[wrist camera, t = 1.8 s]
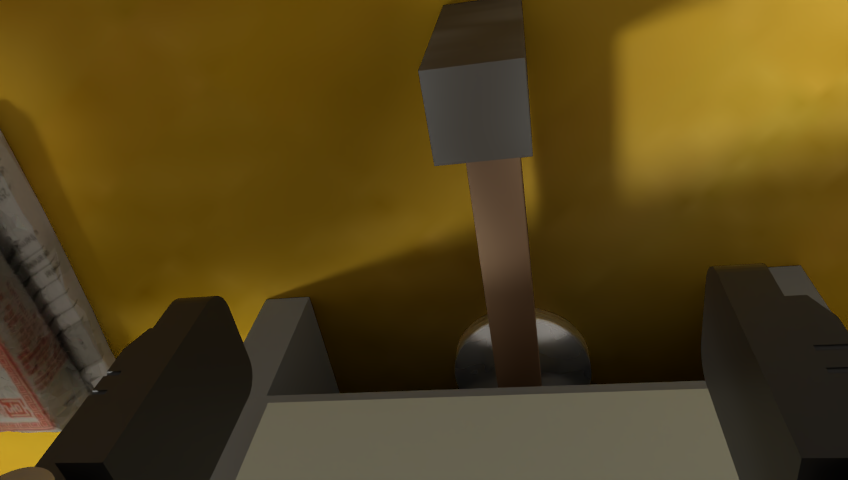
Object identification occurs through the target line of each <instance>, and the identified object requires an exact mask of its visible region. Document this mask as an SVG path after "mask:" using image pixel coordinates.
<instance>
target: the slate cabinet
mask: <svg viewBox="0 0 848 480" xmlns="http://www.w3.org/2000/svg"><path fill="white" fill-rule="evenodd" d="M768 269H769V270H770V272H771V274H772V275H773V277H774V279H775V281H776V282H777V284H778V286H779V287H780V289H781V291H782V293H783V294H784V296H793V295H808V296H809V297H811V298H812V299H814V300H815V301H816V302H818V303H819V304H821V305H822V306H823V307H825V308H826V309H828V310H829V311H830V309H829V308H828V306H827V305H826V303H825V302H824V300H823V299H822V297H821V296H820V294H819V293H818V291H817V290H816V288H815V287H814V285H813V284H812V282H811V281H810V279H809V278H808V276H807V275H806V273H805V272H804V270H803V269H802V267H801V266H784V267H769V268H768ZM830 312H831V311H830ZM243 344H244V346H245V349H246V351H247V354H248V356H249V359H250V362H251V366H252V375H253V377H252V387H251V392H250V395H249V397H248V400H247V402H246V404H245V406H244V408H243V410H242V412H241V414H240V417H239V419H238V421H237V423H236V425H235V427H234V429H233V431H232V434H231V436H230V438H229V440H228V442H227V444H226V446H225V448H224V450H223V453H222V455H221V457H220V459H219V461H218V463H217V465H216V467H215V470H214V472H213V474H212V476H211V478H210V480H739V478H738V475H737V472H736V469H735V466H734V463H733V460H732V457H731V454H730V451H729V449H728V446H727V443H726V440H725V437H724V434H723V431H722V428H721V425H720V422H719V420H718V417H717V414H716V411H715V408H714V405H713V402H712V399H711V396H710V393H709V391H708V388H707V385H706V381H680V382H652V383H623V384H594V385H565V386H536V387H507V388H479V389H450V390H421V391H392V392H363V393H340V392H339V389H338V386H337V382H336V379H335V376H334V373H333V370H332V367H331V364H330V361H329V357H328V354H327V351H326V348H325V345H324V342H323V339H322V335H321V332H320V329H319V326H318V323H317V320H316V317H315V314H314V310H313V307H312V304H311V301H310V298H309V297H299V298H283V299H268V300H266V301H265V303H264V305H263V307H262V309H261V310H260V312H259V314H258V316H257V318H256V320H255V322H254V324H253V326H252V328H251V330H250V332H249V334H248V335H247V337H246V339H245V341H244V343H243Z"/></svg>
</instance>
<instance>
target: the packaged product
mask: <svg viewBox="0 0 848 480" xmlns="http://www.w3.org/2000/svg"><path fill="white" fill-rule="evenodd" d="M115 360H116V359H115V357H114V355H113V353H112V352H111V350H110V348H109V346H108V343H107V341H106V339H105V337H104V334H103V332H102V330H101V328H100V325H99V323H98V321H97V319H96V316H95V314H94V312H93V310H92V308H91V305H90V304H89V302H88V300H87V298H86V296H85V294H84V292H83V290H82V288H81V285H80V283H79V281H78V279H77V277H76V275H75V273H74V271H73V269H72V267H71V265H70V262H69V260H68V258H67V256H66V254H65V252H64V250H63V248H62V246H61V244H60V242H59V240H58V238H57V236H56V234H55V232H54V230H53V228H52V226H51V224H50V222H49V220H48V218H47V216H46V214H45V212H44V210H43V208H42V206H41V205H40V203H39V201H38V199H37V197H36V195H35V193H34V191H33V190H32V188H31V186H30V184H29V182H28V180H27V178H26V176H25V175H24V173H23V171H22V169H21V167H20V165H19V163H18V162H17V160H16V158H15V156H14V154H13V152H12V150H11V148H10V147H9V145H8V143H7V141H6V139H5V137H4V135H3V133H2V132H1V130H0V432H4V431H13V432H16V431H18V432H22V433H23V432H28V433H30V432H59V431H62V430H63V429H64V427H65V426H66V425H67V423H68V422H69V421H70V419H71V418H72V417H73V415H74V414H75V413H76V411H77V410H78V409H79V407H80V406H81V405H82V404H83V402H84V401H85V400H86V398H87V397H88V396H89V395H92V394H93V391H92V390H93V389H94V388H95V386H96V385H97V384H98V382H99V381H100V380H101V378H102V377H103V376H107V371H108V369H109V368H110V367H111V365H112V364H113V363H114V361H115Z"/></svg>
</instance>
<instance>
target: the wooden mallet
mask: <svg viewBox="0 0 848 480" xmlns="http://www.w3.org/2000/svg"><path fill="white" fill-rule="evenodd" d="M418 73H419V78H420V84H421V90H422V96H423V102H424V108H425V114H426V119H427V125H428V131H429V137H430V143H431V149H432V155H433V160H434V166H440V165H450V164H460V163H466V166H467V173H468V180H469V187H470V194H471V201H472V208H473V216H474V223H475V230H476V237H477V244H478V251H479V258H480V265H481V272H482V279H483V286H484V293H485V300H486V307H487V314H488V321H489V328H490V335H491V342H492V349H493V356H494V363H495V370H496V377H497V384H498V388H507V387H536V386H542V380H541V369H540V358H539V347H538V337H537V326H536V315H535V304H534V293H533V282H532V272H531V261H530V250H529V239H528V228H527V217H526V207H525V196H524V185H523V174H522V163H521V157H531V156H533V151H532V136H531V120H530V105H529V90H528V75H527V62H526V49H525V37H524V24H523V12H522V0H477V1H470V2H463V3H456V4H449V5H443V7H442V10H441V12H440V15H439V18H438V20H437V23H436V26H435V28H434V31H433V33H432V36H431V39H430V41H429V44H428V47H427V49H426V52H425V55H424V57H423V60H422V62H421V65H420V68H419V70H418Z"/></svg>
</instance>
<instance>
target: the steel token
mask: <svg viewBox="0 0 848 480" xmlns="http://www.w3.org/2000/svg"><path fill="white" fill-rule="evenodd" d="M535 315H536V326H537V337H538V347H539V358H540V369H541V380H542V386H565V385H590V382H591V374H592V371H591V364H590V357H589V351H588V347H587V344H586V341H585V339H584V337H583V336H582V335H581V333H580V332H579V330H578V329H577V328H576V327H575V326H574V325H572V324H571V323H570V322H569V321H567V320H566V319H564V318H562V317H561V316H559V315H556V314H554V313H552V312H549V311H545V310H542V309H537V308H535ZM455 379H456V382H457V385H458V387H459V389H479V388H498V384H497V377H496V370H495V363H494V356H493V349H492V342H491V335H490V328H489V321H488V314H486V315H484V316H482V317H481V318H479V319H477V320H476V321H475V322H473V323H472V324H471V325H470V326H469V327H468V328H467V329H466V330H465V331H464V333H463V334H462V336H461V338H460V340H459V342H458V346H457V350H456V360H455Z"/></svg>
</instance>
